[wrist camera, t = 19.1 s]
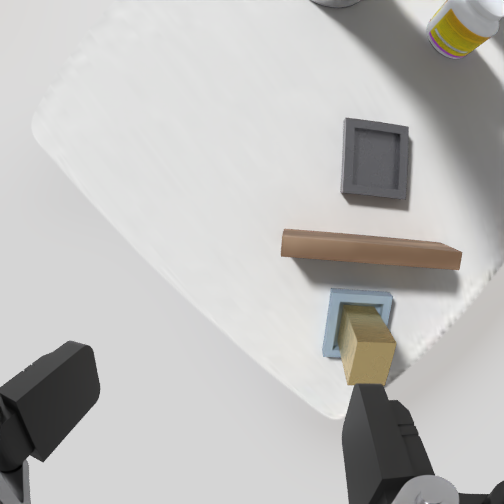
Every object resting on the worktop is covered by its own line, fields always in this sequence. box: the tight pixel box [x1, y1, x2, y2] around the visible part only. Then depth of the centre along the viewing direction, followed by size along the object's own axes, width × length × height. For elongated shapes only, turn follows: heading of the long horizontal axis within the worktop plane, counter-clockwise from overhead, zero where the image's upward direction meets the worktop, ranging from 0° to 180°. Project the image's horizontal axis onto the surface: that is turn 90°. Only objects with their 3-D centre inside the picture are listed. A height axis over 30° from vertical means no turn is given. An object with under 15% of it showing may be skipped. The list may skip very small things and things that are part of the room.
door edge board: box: [281, 229, 462, 270], centre depth 34 cm, size 2×20×6 cm, turn 87°
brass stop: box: [337, 305, 396, 386], centre depth 33 cm, size 5×4×10 cm
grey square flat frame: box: [340, 118, 409, 200], centre depth 34 cm, size 8×8×2 cm
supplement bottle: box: [427, 0, 504, 59], centre depth 23 cm, size 7×7×13 cm
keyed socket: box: [322, 288, 393, 358], centre depth 38 cm, size 8×8×2 cm
